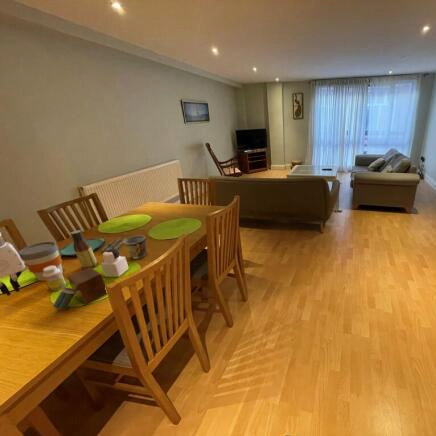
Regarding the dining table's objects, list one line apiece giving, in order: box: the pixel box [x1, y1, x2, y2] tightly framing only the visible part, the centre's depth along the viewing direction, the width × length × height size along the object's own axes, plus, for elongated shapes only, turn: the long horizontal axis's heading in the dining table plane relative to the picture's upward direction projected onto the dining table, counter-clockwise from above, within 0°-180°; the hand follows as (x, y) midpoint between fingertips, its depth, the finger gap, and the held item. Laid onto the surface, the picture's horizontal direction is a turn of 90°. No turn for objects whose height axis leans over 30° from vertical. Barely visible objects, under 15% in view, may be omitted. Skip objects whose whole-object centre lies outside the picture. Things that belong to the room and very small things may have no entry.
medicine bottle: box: [100, 248, 130, 278], centre depth 115 cm, size 7×7×12 cm
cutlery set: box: [58, 237, 127, 258], centre depth 139 cm, size 20×30×2 cm, turn 101°
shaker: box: [52, 287, 76, 310], centre depth 94 cm, size 8×4×8 cm, turn 150°
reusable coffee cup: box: [18, 241, 64, 282], centre depth 113 cm, size 13×13×15 cm
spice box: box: [66, 267, 108, 305], centre depth 100 cm, size 8×10×10 cm
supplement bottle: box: [43, 266, 67, 291], centre depth 105 cm, size 6×6×10 cm
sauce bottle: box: [70, 229, 98, 270], centre depth 118 cm, size 6×6×20 cm
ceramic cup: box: [123, 235, 147, 260], centre depth 129 cm, size 13×10×10 cm
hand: (12, 291), depth 81 cm, fingers closed
